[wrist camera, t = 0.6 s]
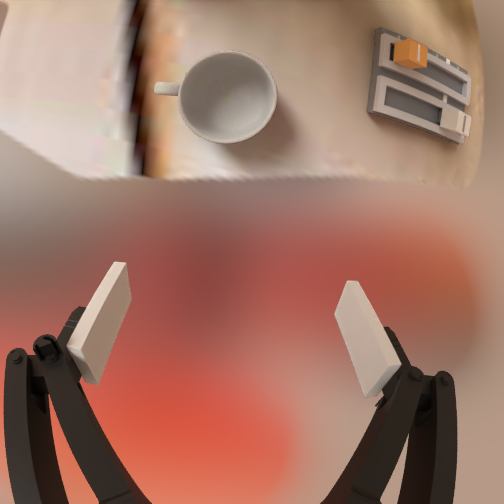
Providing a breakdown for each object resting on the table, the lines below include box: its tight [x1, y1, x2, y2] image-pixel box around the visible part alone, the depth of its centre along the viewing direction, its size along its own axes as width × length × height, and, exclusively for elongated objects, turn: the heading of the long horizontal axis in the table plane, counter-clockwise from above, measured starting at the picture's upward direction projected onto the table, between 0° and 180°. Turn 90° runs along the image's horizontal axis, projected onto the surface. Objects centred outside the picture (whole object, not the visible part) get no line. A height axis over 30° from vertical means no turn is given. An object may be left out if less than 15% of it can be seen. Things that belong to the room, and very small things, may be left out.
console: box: [367, 27, 471, 144], centre depth 30 cm, size 14×18×3 cm
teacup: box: [154, 51, 277, 144], centre depth 29 cm, size 14×11×8 cm
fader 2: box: [437, 108, 472, 137], centre depth 29 cm, size 3×3×5 cm
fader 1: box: [391, 39, 428, 69], centre depth 25 cm, size 3×3×5 cm
